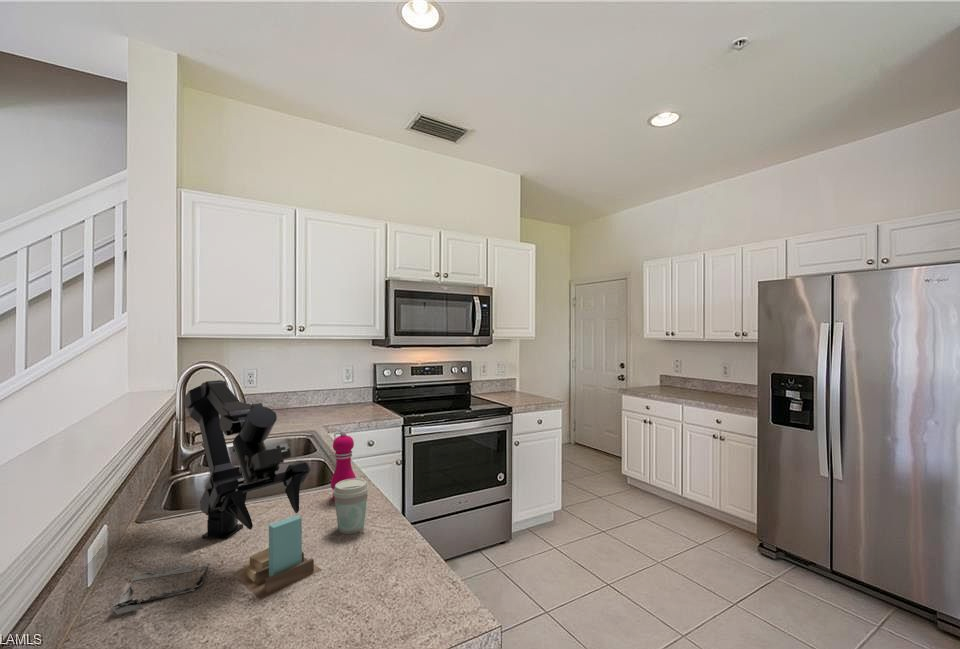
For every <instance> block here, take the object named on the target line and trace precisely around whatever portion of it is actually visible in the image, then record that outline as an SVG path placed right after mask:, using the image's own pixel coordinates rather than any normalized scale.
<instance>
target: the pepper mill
mask: <svg viewBox="0 0 960 649" xmlns="http://www.w3.org/2000/svg"><path fill="white" fill-rule="evenodd" d="M339 434H340V435H338V436H337V437H335V439H333V443H332V449H333V450H334V458H335V460H336V463H335V469H334V472H333V474H332V477H331V481H330V488H331V489H332V490H334V488H335V485H336V484H337V483H338V482H340V481H343V480H347V479H355V478H356V474H355V472H354V470H353V468H352V461H351V460H352V458H353V457H352V456H353V448H354V446H355V442H354V439H353V437H351V436H350V435H348V434H347V431H346V430H341V431H340V433H339ZM332 500H333V501H334V502H335V498H334V496H333V495H332Z"/></svg>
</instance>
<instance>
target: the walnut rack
mask: <svg viewBox="0 0 960 649" xmlns="http://www.w3.org/2000/svg"><path fill="white" fill-rule="evenodd" d="M322 571H323V569H322V568H320V567H319V566H317V564H315V559H314V558H312V557H311V558H309V559H307V558H306V557H305V553H304V551H302V563H300V564H297V565H295V566H293V567H291V568H288V569H286V570H284V571H282V572H279V573H277V574H275V575H273V576H270V577H269V566H267V567H264V568H262V569H260V570H257V571H256V581H255V582H253V581H252V580H251V579H250V578H249V577H248V576H247V575H246V574H245V573H244V568H242V569H240V570H237V571H235V572H232V575H233V576H235V578H236V579H237V580H239V582H240V583H242V584H243V585H244V586H245V587H246V588H247V589H248V590H249V591H250V592H251V593H252V594H253V595H254V596H255V597H256V598H257V599H258V600H260V601H261V600H263V599H265V598H266V597H269V596H271V595H273V594H275V593H278V592H280V591H283V589H286V588H288V587H290V586H291V585H294V584H296V583H298V582H301V581H303V580H305V579H307V578H308V577H311V576H313V575H315V574H317V573H320V572H322Z"/></svg>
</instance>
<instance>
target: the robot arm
mask: <svg viewBox="0 0 960 649" xmlns="http://www.w3.org/2000/svg"><path fill="white" fill-rule="evenodd" d="M183 405H184V407H185V409H186V410H187V412H188V416H189V417H190V418H191V419H192V420H194V421H195V422H196V423H197V424H198V425H199V430H200V433H201V434H200V435H201V438H202V443H203V448H204V451H205V456H206V460H207V464H208V469H209V476H208V479H207V481H206V484H205V486H204V488H205V489H204V492H203V494H202V496H201V498H200V501H199V505H200V511H201V512H202V513H203V514H205V516H207V522H206V523H207V524H206V525H207V527H206V528H207V529H206V530H207V532H205V533H204V534H202V535H201V538H202V539H223V540H224V539H228V538H229V537H231V536H232V535H234V534H235V533H236V532H238V531H239V530H241V529H242V528H244V526H245V527H246V528H247V529H248V530H252V529H253V527H254V525H253V521H252V518H251V517H252V516H251V515H250V512H249V510H248V508H247V505H246V501H247V495H248V492H252V491H255V490H260V489H263V488H266V487H270V486H273V485H276V484H280V483H283V486H284V487H285V489H284V492H285V494H286V496H287V498H288V502H289V503H290V506H291V509H292V510H293V512H294V513H295V514H298V513H299V511H300V488H301V485H302V484H303V483H305V480H306V479H307V476H308V475H309V473H310V471H311V468H310V465H309V463H308V462H306V461H304V460H303V461H299V462H294V463H291V464H288V466H287V467H286V469H285V471H284V472H281V473H276V472H277V471H279V470H280V464H283V463H284V462H285V460H287V459H289V458H291V456H292V452H291V449H290V446H289V444H288V443H287V442H285V443H280V444H278V445H276V448H270V449H267V448H266V445H265V442H264V441H266V440H267V439H268V438H269V436H270V434H271V431H272V430H273V428H274V426H275V424H276V422H277V418H278V416H277V413H276V412H275V411H274V410H273V409H271V408H269V407H267V406H263V403H262V402H257V403H252V404H250V403H247V402H242V401H240V399H239V398H237V396H236V395H235V394H234V393H233V392H232V390H231V389H230V387H228V383H227V381H226V380H223V379H219V380H208V381H205V382H202V383H201V384H200V385H198V386H196V387H194V388H192V389H189V391H188V392H187V393H186V394H185V395H184V398H183ZM234 435H236V436H235V437H234V439H233V440H232V452H233V453H234V452H235V455H236V458H237V460H238V461H237V462H238V464H239V466H234V465H233V464H232V462H231V457H230V454H229V451H228V446H227V442H226V438H225V436H226V437H227V436H234ZM238 522H240V523H241V524H238Z"/></svg>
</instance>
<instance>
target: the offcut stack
mask: <svg viewBox="0 0 960 649" xmlns="http://www.w3.org/2000/svg"><path fill="white" fill-rule="evenodd" d="M267 566H269V547H267V548H266V549H263V550H261V551H259V552H257V553H254V554H253V555H250V556H249V562H246V563H244V564H243V569H244V573H245V574H246V575H247V576H248V577H249V578H250V579H251V580H252V581H253V582H255V581H256V571H257V570H260V569H262V568H264V567H267Z"/></svg>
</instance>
